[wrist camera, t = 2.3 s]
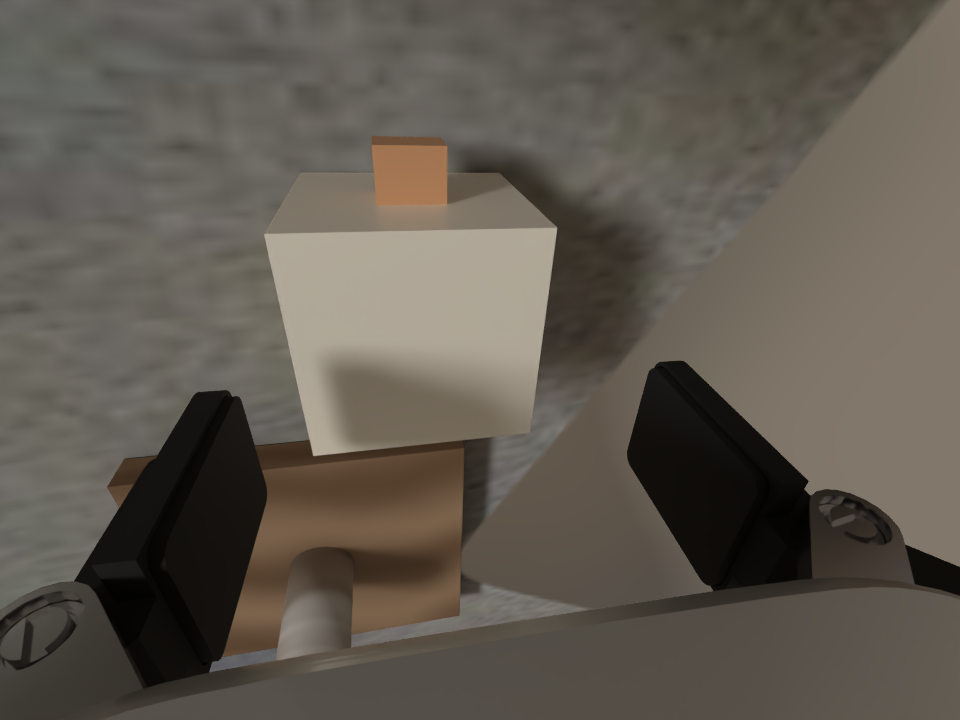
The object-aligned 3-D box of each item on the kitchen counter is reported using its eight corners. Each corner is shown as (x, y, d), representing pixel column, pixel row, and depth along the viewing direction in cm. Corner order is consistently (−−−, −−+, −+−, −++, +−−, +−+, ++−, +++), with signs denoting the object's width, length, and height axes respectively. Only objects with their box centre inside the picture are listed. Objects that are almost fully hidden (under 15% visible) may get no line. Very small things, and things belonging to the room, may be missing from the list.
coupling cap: (292, 122, 14) (248, 161, 9) (501, 126, 15) (565, 163, 10) (334, 375, 19) (320, 489, 14) (487, 363, 20) (525, 465, 15)
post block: (124, 458, 19) (36, 603, 14) (459, 425, 21) (485, 537, 17) (217, 631, 27) (181, 764, 22) (455, 591, 29) (472, 702, 24)
